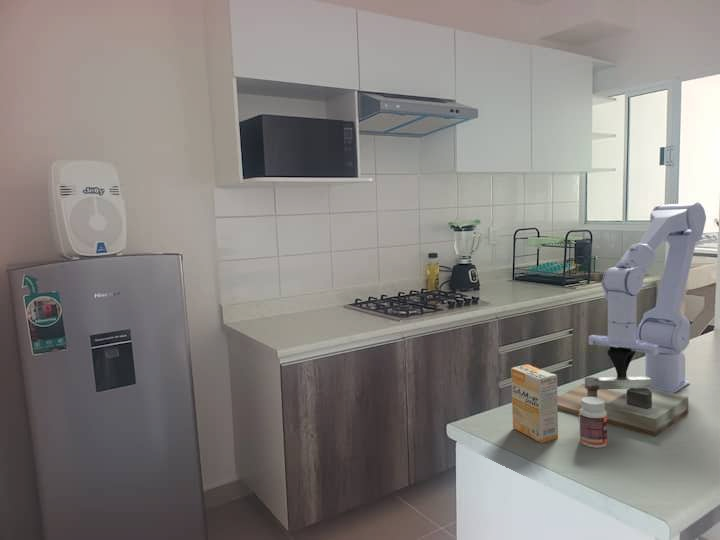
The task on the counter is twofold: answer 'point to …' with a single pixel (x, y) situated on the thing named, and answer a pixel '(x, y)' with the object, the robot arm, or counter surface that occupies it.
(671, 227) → the robot arm
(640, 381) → the bar
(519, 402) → the supplement box
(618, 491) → the counter surface
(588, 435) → the pill bottle
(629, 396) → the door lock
